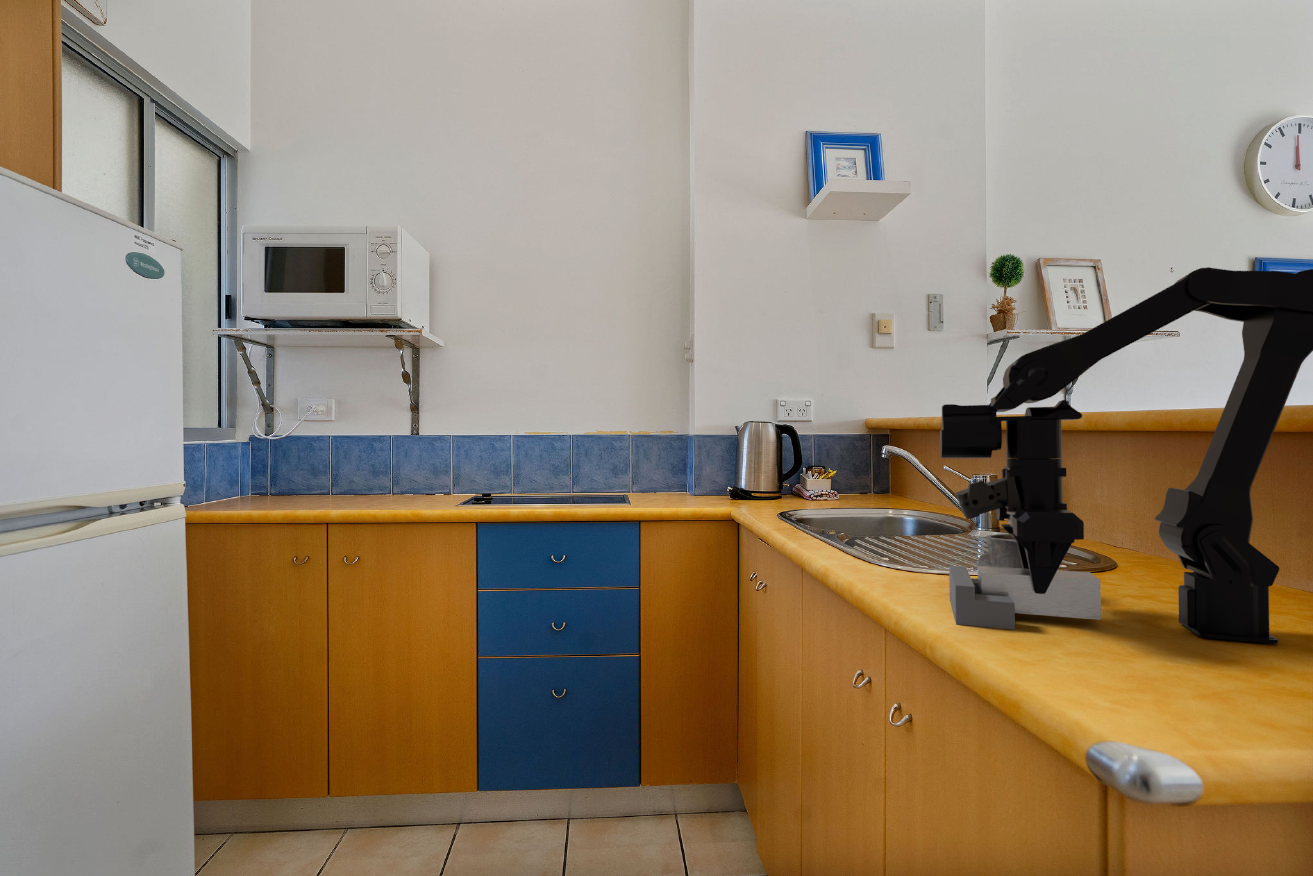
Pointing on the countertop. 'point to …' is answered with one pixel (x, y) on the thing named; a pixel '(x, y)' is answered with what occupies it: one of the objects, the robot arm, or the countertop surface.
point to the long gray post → (1062, 597)
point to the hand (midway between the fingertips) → (1035, 588)
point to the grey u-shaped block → (978, 603)
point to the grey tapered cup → (1001, 552)
